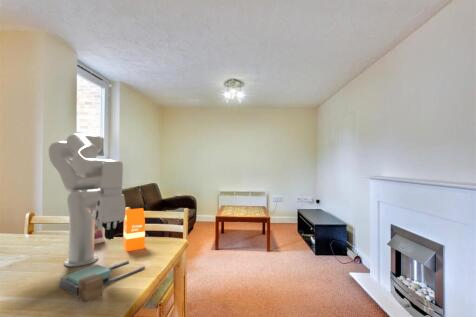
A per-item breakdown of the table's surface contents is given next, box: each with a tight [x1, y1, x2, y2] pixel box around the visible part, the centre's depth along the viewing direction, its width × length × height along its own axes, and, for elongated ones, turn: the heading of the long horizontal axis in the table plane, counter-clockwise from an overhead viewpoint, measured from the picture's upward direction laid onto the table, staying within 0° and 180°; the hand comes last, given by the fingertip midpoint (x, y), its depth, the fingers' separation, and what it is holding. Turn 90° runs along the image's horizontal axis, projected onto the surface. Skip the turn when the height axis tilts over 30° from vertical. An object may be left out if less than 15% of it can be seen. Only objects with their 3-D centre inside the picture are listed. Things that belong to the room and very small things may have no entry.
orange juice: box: [123, 207, 146, 252], centre depth 128 cm, size 8×9×20 cm
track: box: [59, 260, 146, 297], centre depth 95 cm, size 12×26×3 cm, turn 147°
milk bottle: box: [91, 210, 106, 245], centre depth 137 cm, size 8×8×20 cm
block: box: [78, 274, 104, 304], centre depth 80 cm, size 5×5×6 cm
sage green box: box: [65, 264, 112, 285], centre depth 89 cm, size 9×11×4 cm
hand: (109, 238), depth 97 cm, fingers closed
